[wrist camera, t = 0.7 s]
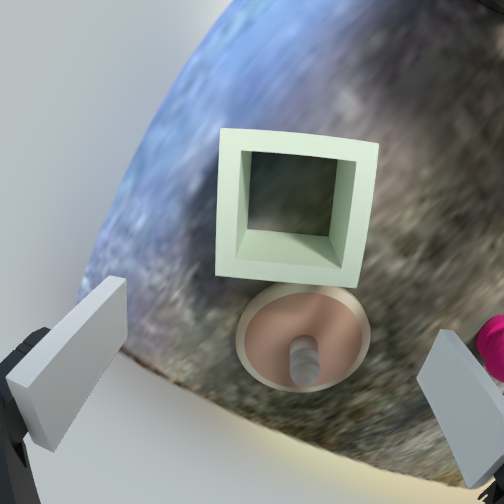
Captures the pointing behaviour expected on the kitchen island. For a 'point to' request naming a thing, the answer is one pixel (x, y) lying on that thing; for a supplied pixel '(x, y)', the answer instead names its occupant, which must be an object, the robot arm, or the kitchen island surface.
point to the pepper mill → (493, 346)
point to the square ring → (291, 244)
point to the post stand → (302, 336)
